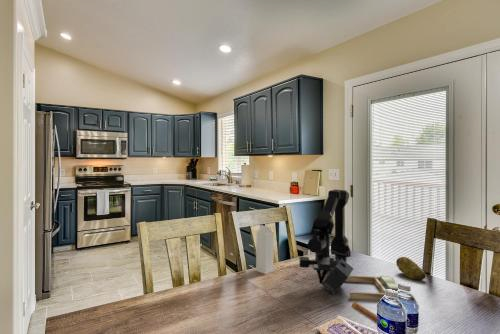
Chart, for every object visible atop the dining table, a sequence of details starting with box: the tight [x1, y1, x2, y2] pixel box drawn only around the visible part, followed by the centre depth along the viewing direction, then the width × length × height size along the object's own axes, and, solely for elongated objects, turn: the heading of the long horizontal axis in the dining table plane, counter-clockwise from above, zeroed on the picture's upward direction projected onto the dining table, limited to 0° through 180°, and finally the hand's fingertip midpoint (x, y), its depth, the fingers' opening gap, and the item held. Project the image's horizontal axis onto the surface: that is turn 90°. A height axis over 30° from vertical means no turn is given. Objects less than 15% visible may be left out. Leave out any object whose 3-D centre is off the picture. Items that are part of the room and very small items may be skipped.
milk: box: [255, 224, 275, 275], centre depth 141 cm, size 6×6×22 cm
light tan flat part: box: [345, 274, 399, 301], centre depth 122 cm, size 17×22×4 cm
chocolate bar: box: [351, 301, 378, 324], centre depth 104 cm, size 3×12×2 cm, turn 24°
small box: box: [321, 259, 354, 295], centre depth 122 cm, size 11×6×10 cm
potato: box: [395, 256, 426, 281], centre depth 137 cm, size 8×13×8 cm, turn 8°
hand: (320, 283), depth 124 cm, fingers closed, pressing on small box
